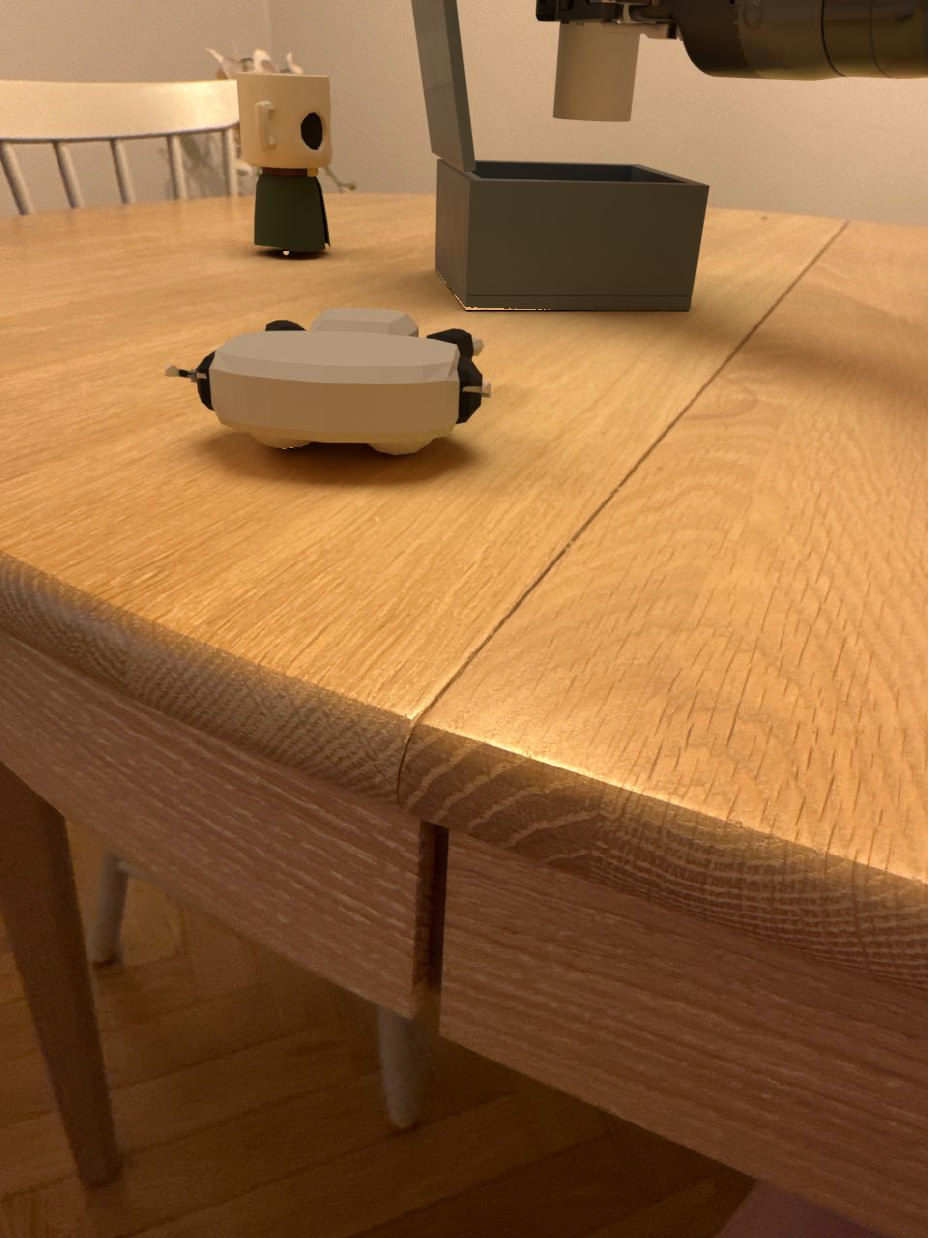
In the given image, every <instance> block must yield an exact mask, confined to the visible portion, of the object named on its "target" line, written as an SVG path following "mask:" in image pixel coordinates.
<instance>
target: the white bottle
mask: <svg viewBox="0 0 928 1238" xmlns="http://www.w3.org/2000/svg"><path fill="white" fill-rule="evenodd" d="M628 6H629V5H624V11H623V18H624V21H625V22H626V23H641V22H635V21H633V20H631V18H630V16H629V13H628ZM558 28H559V29H558V40H557V54H556V55H557V56H556V67H555V68H556V69H555V79H554V80H555V81H554V94H553V107H552V118H554V119H558V120H559V119H560V120H571V121H585V122H609V123H610V122H612V123H613V122H614V123H616V122H619V123H621V122H622V123H623V122H626V123H628V122H631V120H632V111H633V103H634V101H633V100H634V94H635V85H636V84H635V83H636V75H637V67H638V57H639V49H640V40H641V34H616V33H608V32H605V31H604V29H603V27H602V25H601V24H598V23H584V26H576V23H571V22H569V24H561V22H559V26H558Z"/></svg>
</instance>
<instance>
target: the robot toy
mask: <svg viewBox="0 0 928 1238" xmlns="http://www.w3.org/2000/svg"><path fill="white" fill-rule="evenodd" d="M419 328H420V327H419V326H418V325H417V323H416V322H415V321H414V319H413V318H412V317H411V316H410V315H409V313H408V312H405V311H404V312H403V311H399V310H393V309H386V308H385V309H384V308H371V307H370V308H367V307H334V308H325V309H324V310H322V312H321V313H320V314H319V315H318V316H317V317H316V318H315V319H314V320H313V321H312V322H311V325H310V328H309V330H307V329H306V328H305V327H303V326H302V325H300V324H299V323H297V322H294V321H291V320H288V319H275V320H273V321H271V322H268V323H266V324H265V328H264V327H263V328H262V330H261V331H256V332H246V333H244V332H243V333H237V334H236V335H235V336H233V337H232V338H230V339H228V341H225V343H223V344H222V345H220V346H218V347H217V348H215V349H214V350H213V351H211V352H210V353H209V354H207V355H206V356H204V357H203V358H202V361H201V362H199V364H198V366H197V367H196V368H190V370H188V369H184V368H179V367H178V368H177V366H176V365H169V364H164V376H165V377H169V378H177V377H179V378H182V379H183V378H184V379H189V380H190V383H193V384H196V386H197V388H196V389H197V393H198V397H199V399H200V401H201V403H202V404H203V405H204V406H205V407H206V409H208V410H209V411H212V412H214V413H215V415H216V417H217V419H218V421H219V423H220V424H221V425H223V426H225V427H227V428H231V429H233V430H235V431H237V432H240V433H245V434H249V435H250V436H251V437H252V438H255V439H256V440H257V441H258V442H260V443H261V444H263V445H265V446H267V445H269V446H268V447H271V446H274V447H273V448H275V447H279V448H290V447H300V448H303V447H302V446H304V445H306V446H308V445H309V444H311V443H312V442H317V443H329V444H330V443H333V444H334V443H339V444H344V443H346V444H356V443H357V444H366V445H368V446H370V447H372V448H373V449H374V450H375V451H377V452H380V453H385V454H388V455H392V456H399V455H400V456H402V455H408V454H414V453H417V452H418V451H419V450H421V449H423V448H425V447H427V446H428V445H430V444H431V443H432V442H433V440H434V439H438V438H439V439H440V438H444V437H449V436H451V435H452V432H453V430H454V428H455V426H456V425H460V424H461V425H462V424H465V423H467V422H468V421H469V420H470V418H471V417H472V416H473V415H474V413H475V412H476V411H477V410H478V409H480V407H481V406H482V398H483V399H485V398H486V399H490V398H491V395H492V394H491V393H492V383H491V381H489V380H483V379H484V375H483V374H482V372H481V371H480V370H479V368H478V367H477V366H476V364H475V362H474V361H473V357H477V356H479V355H480V354H481V353H482V352H483V350H484V347H485V345H484V341H483V339H482V338H478V337H473V336H472V334H471V333H470V332H468V331H466V330H464V329H463V328H456V327H455V328H454V327H452V328H448V329H445V330H442V331H437V332H433V333H431V334H428V335H426V337H419V336H420V335H419V330H420V329H419ZM304 447H305V446H304ZM279 448H278V449H279ZM401 454H402V455H401Z"/></svg>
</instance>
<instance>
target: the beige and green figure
mask: <svg viewBox="0 0 928 1238" xmlns="http://www.w3.org/2000/svg"><path fill="white" fill-rule="evenodd" d="M235 78H236V92H237V106H238V120H239V132H240V146H241V156H242V160H243V162H245V163H247V164H249V165H251V166H255V167H261V174H259V175H258V178H257V181H256V184H255V199H254V200H255V201H254V215H253V217H254V218H253V244H254V245H255V246H259V247H260V246H261V247H267V248H274V249H275V248H276V249H282V250H281V251H282V252H283V251H290V252H295V253H299V252H301V253H304V252H305V253H306V252H307V253H308V252H309V253H311V252H317V251H318V252H319V251H325V250H326V245H328V247H329V248H330V247H331V241H330V239H331V238H330V231H329V223H328V216H327V211H326V205H325V200H324V194H323V189H322V185H321V183H320V181H319V178H318V175H319V169H320V168H325V167H327V166H330V165H331V163H332V158H333V153H334V152H333V150H334V149H333V144H332V133H331V121H332V119H331V118H332V103H331V102H332V101H331V89H330V88H331V86H330V76H328V75H324V74H323V75H321V74H320V75H319V74H304V73H287V72H285V73H283V72H263V71H262V72H261V71H260V72H259V71H258V72H257V71H238V72H236V76H235Z"/></svg>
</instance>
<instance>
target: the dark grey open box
mask: <svg viewBox="0 0 928 1238" xmlns="http://www.w3.org/2000/svg"><path fill="white" fill-rule="evenodd" d="M475 164H476V170H475V171H471V172H463V171H461V170H460V169H458V168H456V167H455V166H453V165H452V164H450V163H448V162H447V161H445V160H443V159H442V158H437V159H436V187H435V189H436V190H435V198H436V199H435V229H434V230H435V231H434V232H435V233H434V234H435V237H434V238H435V239H434V269H435V268H436V270H437V271H438V272H439V274H440V275H441V277H442V278H443V280H444V281H445V282H446V284H447V285H448V286H449V288H450V289H451V290H452V292H453V293H454V294H455V295H456V296H457V297H458V298H459V300H460V301H461V302H462V304H463V305H464V306H465V307H471V308H474V307H477V308H504V309H509V308H511V309H515V308H516V309H536V310H538V309H542V310H544V309H546V310H549V309H550V310H593V312H597V311H598V312H599V311H600V310H602V312H604V311H605V312H606V311H609V312H613V311H614V312H615V311H618V312H619V311H620V312H621V311H622V312H623V311H624V312H627V311H628V312H630V311H631V312H633V311H634V312H637V311H639V312H642V311H645V312H646V311H648V312H649V311H657V312H659V311H660V312H661V311H664V312H665V311H667V312H668V311H669V312H670V311H671V312H673V311H675V312H676V311H678V312H679V311H680V312H681V311H683V312H684V311H685V312H686V311H687V312H688V311H691V306H692V300H693V295H694V288H695V282H696V277H697V269H698V263H699V256H700V250H701V243H702V237H703V230H704V224H705V218H706V213H707V212H706V211H707V205H708V200H709V192H710V185H709V184H706V183H703V182H699V181H696V180H692V179H689V178H687V177H683V176H679V175H676V174H673V173H669V172H667V171H663V170H659V169H656V168H652V167H650V166H646V165H642V164H639V163H609V162H605V163H604V162H603V163H602V162H573V161H571V162H566V161H531V160H500V159H499V160H498V159H497V160H496V159H475ZM441 277H440V278H441ZM443 280H442V281H443ZM444 281H443V282H444ZM446 284H445V285H446ZM447 285H446V286H447ZM449 288H448V289H449ZM450 289H449V290H450ZM452 292H451V293H452ZM453 293H452V294H453ZM595 310H597V311H595Z"/></svg>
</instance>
